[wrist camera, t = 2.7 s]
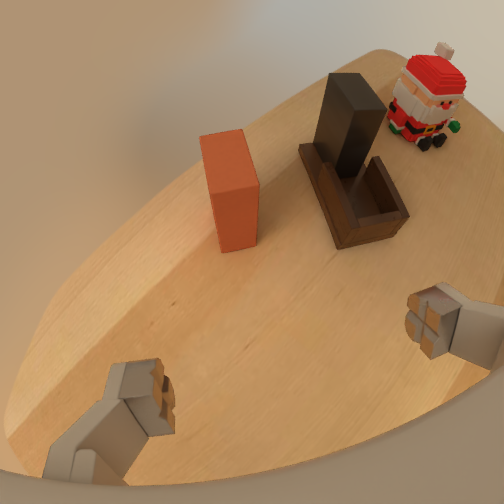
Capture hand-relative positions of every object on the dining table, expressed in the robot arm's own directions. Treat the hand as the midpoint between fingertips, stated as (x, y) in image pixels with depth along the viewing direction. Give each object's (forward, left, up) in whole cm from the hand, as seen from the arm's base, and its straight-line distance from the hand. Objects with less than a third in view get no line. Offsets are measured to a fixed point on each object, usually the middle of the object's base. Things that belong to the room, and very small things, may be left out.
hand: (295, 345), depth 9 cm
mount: (-3, +17, -15) cm, 23 cm away
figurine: (+1, +33, -15) cm, 36 cm away
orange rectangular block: (-9, +8, -15) cm, 19 cm away
